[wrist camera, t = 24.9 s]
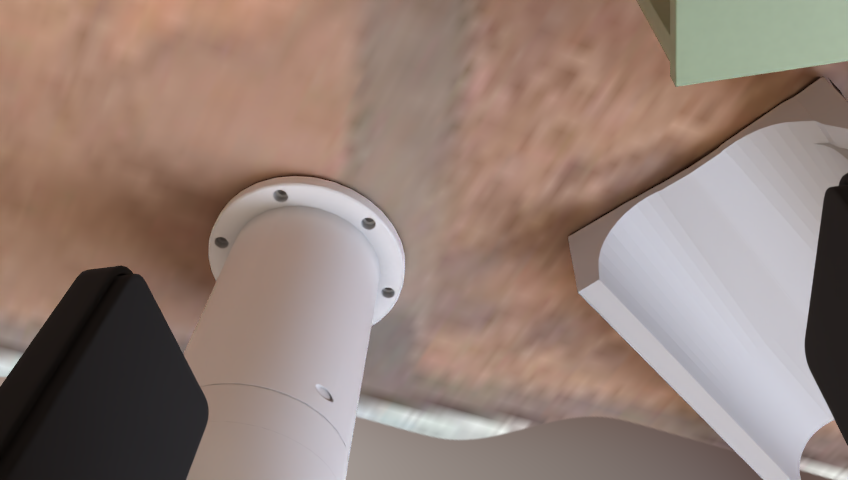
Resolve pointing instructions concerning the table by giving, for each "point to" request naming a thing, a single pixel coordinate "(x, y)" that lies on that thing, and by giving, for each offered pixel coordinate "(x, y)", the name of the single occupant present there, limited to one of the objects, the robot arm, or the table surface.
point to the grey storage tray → (729, 277)
